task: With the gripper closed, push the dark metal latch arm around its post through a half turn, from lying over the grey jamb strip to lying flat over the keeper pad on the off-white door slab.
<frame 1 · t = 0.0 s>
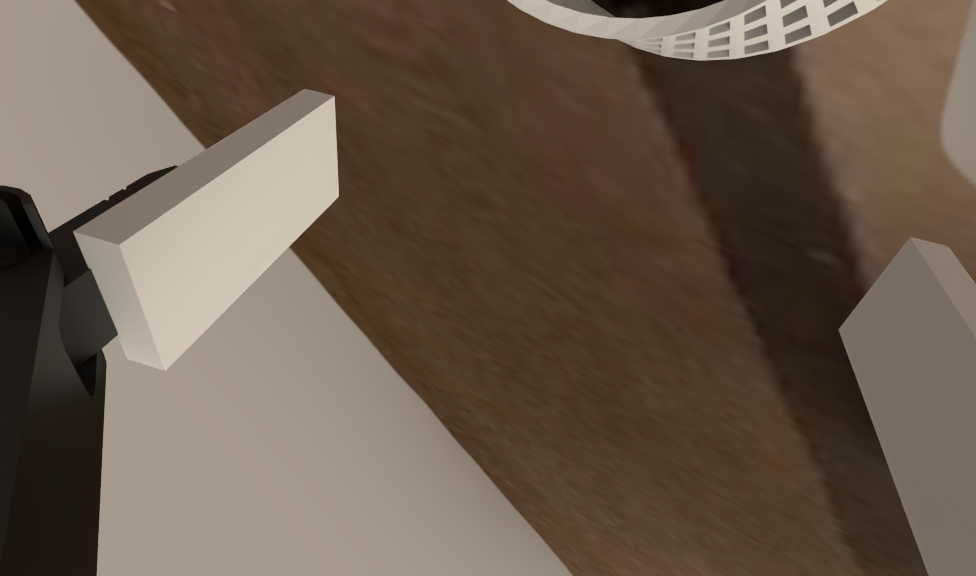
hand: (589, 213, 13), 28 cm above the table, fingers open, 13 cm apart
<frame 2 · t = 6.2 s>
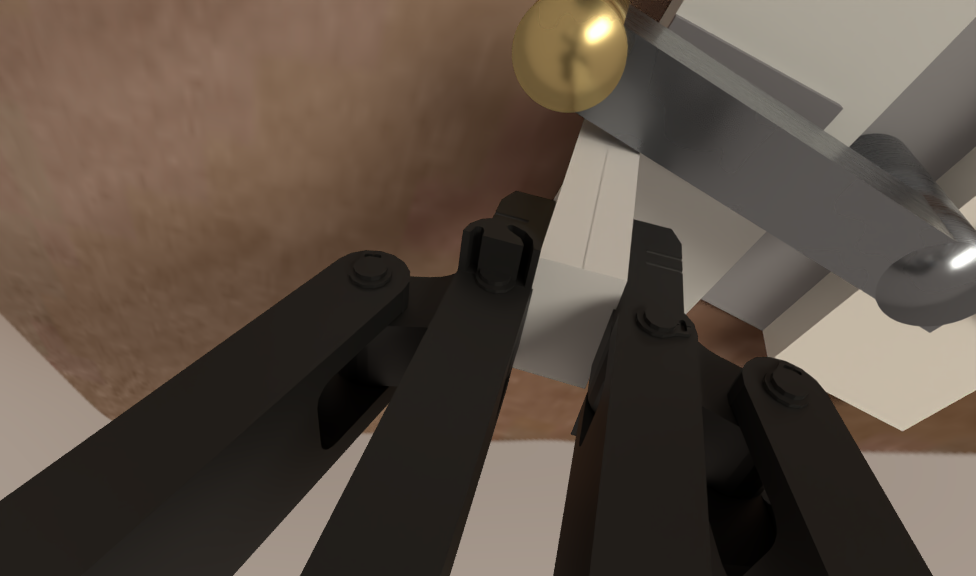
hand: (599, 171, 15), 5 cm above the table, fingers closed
latch arm: (746, 124, 14), point 3 cm above the table, hinge at 176.2°, touching gripper
door mockup: (861, 165, 17), on the table
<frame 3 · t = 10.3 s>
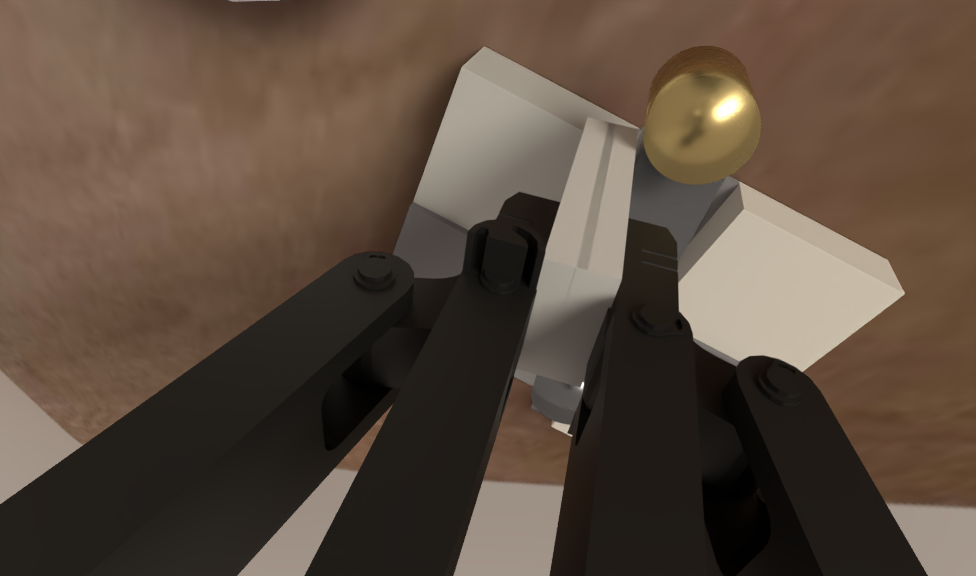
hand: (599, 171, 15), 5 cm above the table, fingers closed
latch arm: (627, 239, 18), point 4 cm above the table, hinge at 100.1°, touching gripper
door mockup: (590, 288, 23), on the table
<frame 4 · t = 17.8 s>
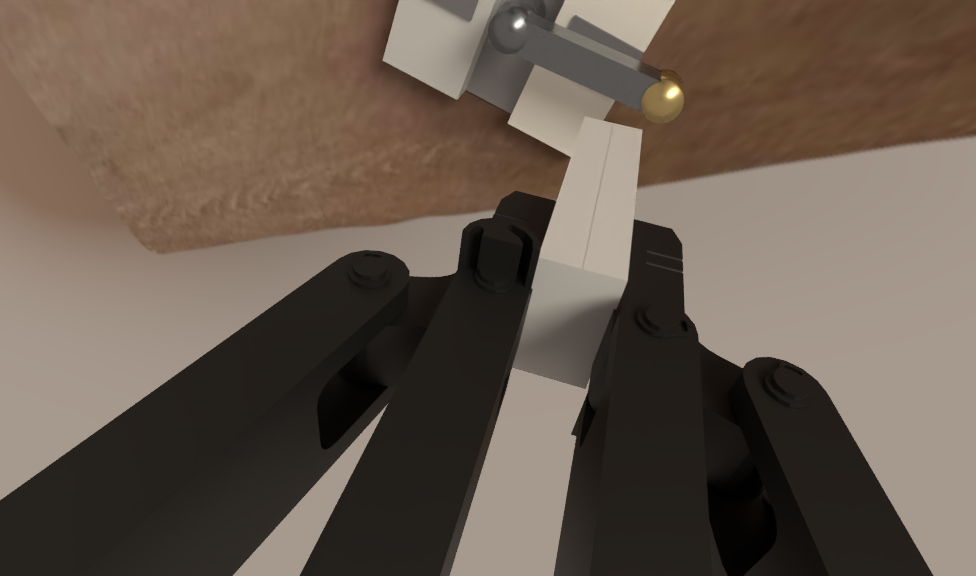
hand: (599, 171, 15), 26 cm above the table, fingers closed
latch arm: (590, 54, 34), point 4 cm above the table, hinge at 4.2°
door mockup: (529, 10, 37), on the table
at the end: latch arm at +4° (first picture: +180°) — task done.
